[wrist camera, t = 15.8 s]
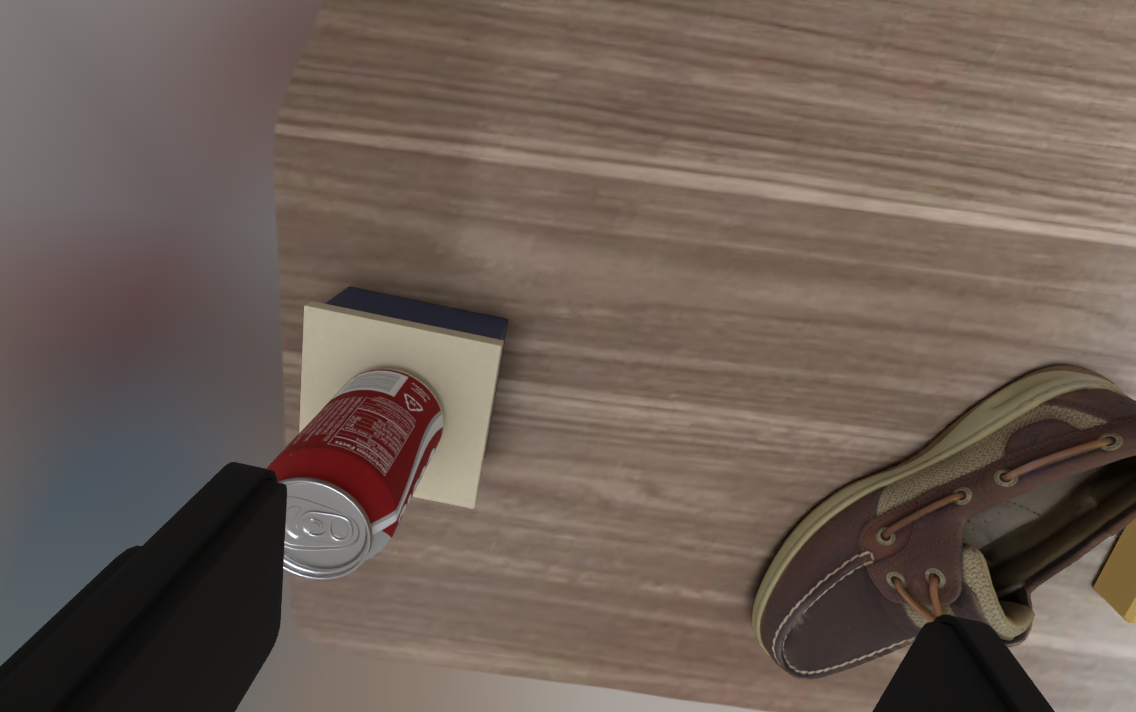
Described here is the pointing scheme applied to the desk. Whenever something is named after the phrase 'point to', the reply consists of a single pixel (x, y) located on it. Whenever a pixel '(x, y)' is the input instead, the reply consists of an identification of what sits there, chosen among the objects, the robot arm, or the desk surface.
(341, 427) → the soda can
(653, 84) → the desk surface
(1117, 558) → the rubber stamp
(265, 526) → the robot arm
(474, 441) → the navy box with lid
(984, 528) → the boat shoe
